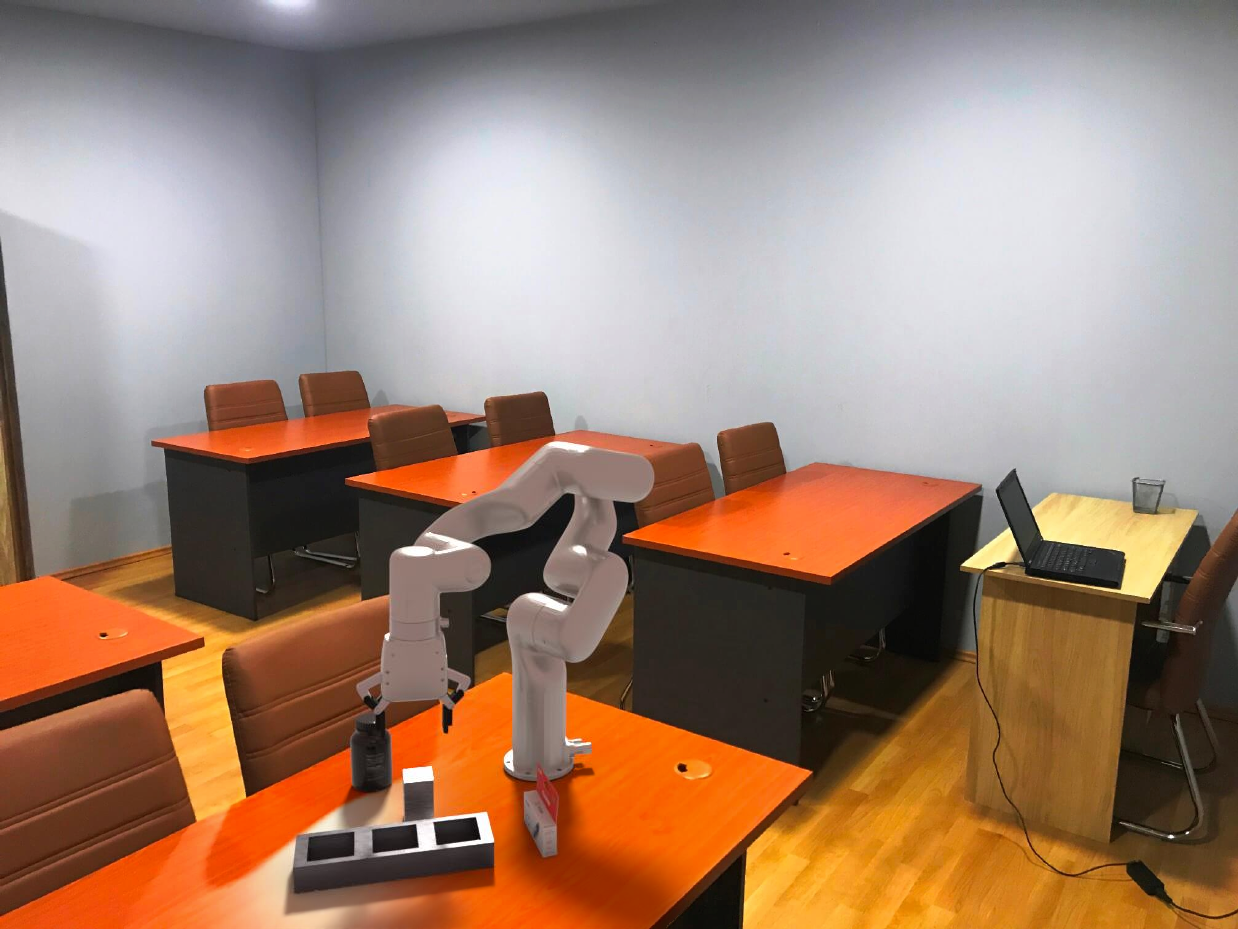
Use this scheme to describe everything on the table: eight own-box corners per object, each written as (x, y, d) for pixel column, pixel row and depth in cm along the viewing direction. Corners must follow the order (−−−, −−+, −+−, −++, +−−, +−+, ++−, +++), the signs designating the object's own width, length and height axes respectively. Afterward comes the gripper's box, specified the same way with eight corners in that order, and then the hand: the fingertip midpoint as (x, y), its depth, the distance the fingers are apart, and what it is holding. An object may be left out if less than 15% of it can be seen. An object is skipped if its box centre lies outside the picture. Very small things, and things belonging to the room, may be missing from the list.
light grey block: (431, 812, 155) (431, 766, 154) (434, 827, 151) (433, 780, 150) (403, 815, 154) (402, 769, 153) (404, 830, 150) (404, 783, 148)
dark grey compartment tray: (486, 835, 149) (486, 812, 148) (494, 867, 141) (494, 842, 140) (297, 859, 141) (296, 834, 141) (293, 894, 133) (292, 867, 133)
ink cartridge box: (542, 858, 143) (543, 798, 141) (522, 821, 153) (523, 764, 152) (558, 855, 144) (559, 795, 142) (537, 818, 154) (538, 762, 153)
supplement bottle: (398, 775, 167) (396, 710, 165) (384, 794, 160) (383, 727, 158) (360, 772, 168) (358, 708, 166) (345, 792, 161) (343, 725, 159)
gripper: (468, 617, 153) (467, 718, 155) (356, 622, 148) (356, 727, 151) (473, 632, 146) (472, 738, 148) (356, 638, 141) (356, 747, 144)
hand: (414, 732), depth 149 cm, fingers open, 9 cm apart
